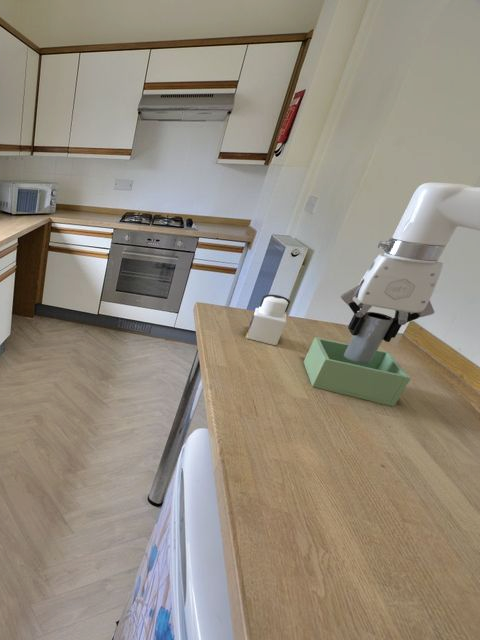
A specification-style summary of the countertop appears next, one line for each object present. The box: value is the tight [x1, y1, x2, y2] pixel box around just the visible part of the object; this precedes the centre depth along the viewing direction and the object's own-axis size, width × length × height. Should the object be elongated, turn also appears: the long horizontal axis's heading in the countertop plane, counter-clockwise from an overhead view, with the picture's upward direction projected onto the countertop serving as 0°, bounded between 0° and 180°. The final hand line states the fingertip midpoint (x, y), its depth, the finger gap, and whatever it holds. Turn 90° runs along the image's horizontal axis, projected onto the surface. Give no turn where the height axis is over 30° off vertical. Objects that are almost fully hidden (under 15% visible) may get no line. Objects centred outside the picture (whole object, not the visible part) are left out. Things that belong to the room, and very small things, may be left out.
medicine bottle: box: [245, 294, 291, 346], centre depth 110 cm, size 7×7×12 cm
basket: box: [303, 336, 412, 408], centre depth 90 cm, size 14×14×7 cm
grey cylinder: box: [344, 311, 394, 364], centre depth 87 cm, size 4×4×10 cm
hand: (368, 335), depth 87 cm, fingers closed on grey cylinder, 4 cm apart
